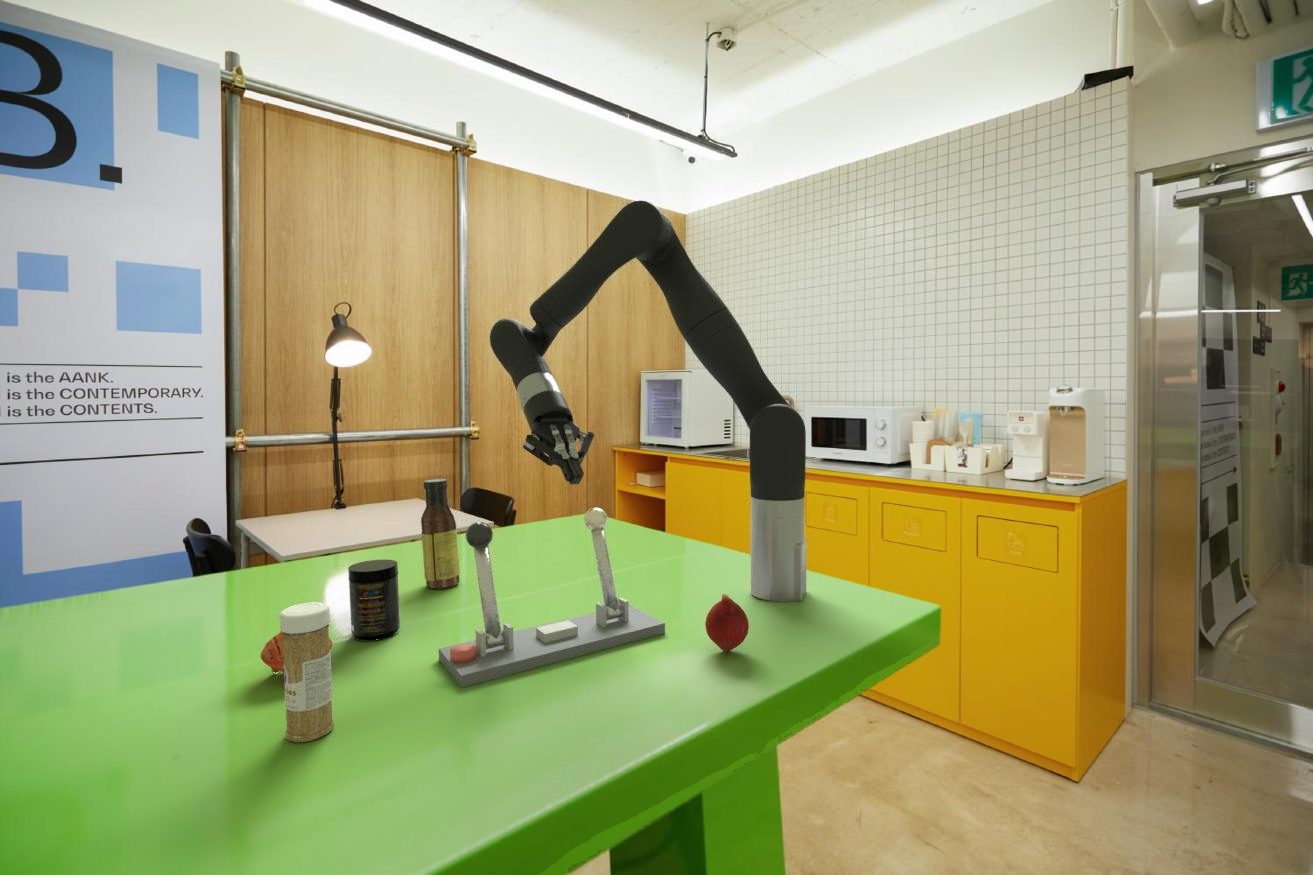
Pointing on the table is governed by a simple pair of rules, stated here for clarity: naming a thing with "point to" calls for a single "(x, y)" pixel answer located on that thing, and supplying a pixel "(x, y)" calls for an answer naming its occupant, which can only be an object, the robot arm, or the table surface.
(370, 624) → the supplement container
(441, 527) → the sauce bottle
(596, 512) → the metal lever
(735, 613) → the onion
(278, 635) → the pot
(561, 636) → the switch panel
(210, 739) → the table surface
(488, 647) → the silver metal rod
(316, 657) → the sprinkles bottle
